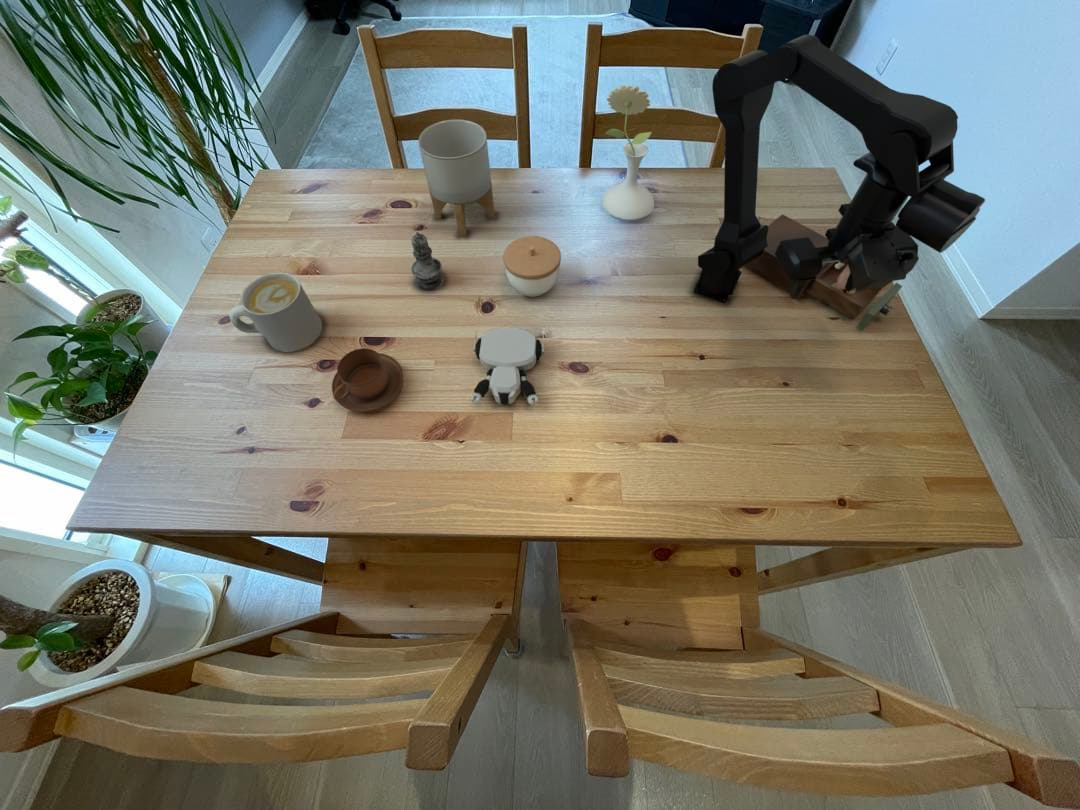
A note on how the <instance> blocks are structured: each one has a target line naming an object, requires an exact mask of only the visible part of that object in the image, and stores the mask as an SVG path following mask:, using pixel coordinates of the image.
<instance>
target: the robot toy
mask: <svg viewBox="0 0 1080 810" xmlns="http://www.w3.org/2000/svg"><path fill="white" fill-rule="evenodd" d="M477 333H478V329H477V328H475V329H474V342H473V346H472V347H473V348H472V350H473V352H474V353H475V356H476V358H477V360H478V361H480V362H481V363H480V364H481V365H482V367H484V368H485V369H487V370H488V371H487V372H486V378H484V379H481V380H480V381H479V382H478V383H477V385H476V386H475V388H474V389H473V392H474V393H472V394H471V396H470V398H469V399H470V401H471V402H474V403H475V404H479V403H480V401H482V398H485V396H486V395H487V393H488V391H489V389H490V391H491V394H492V395H493V397H494V399H495V402H496V403H497V404H500V405H502V406H507V405H511V404H513V403H515V401H516V399H517V397H519V395H520V394H521V391H522V392H523V395H524V397H525V398H526V400H527V403H528V404H529V405H531V406H533V405H535V404H538V402H539V397H538V396H537V392H536V390H535V387H534V386H533V383H532V382H530V381H529V380H527V378H526V377H527V374H526V372H525V371H528V370H530V369H533V368H534V367H535V365H536V363H537V362H539V361H540V359H541V357H542V354H545V353H544V352H545V348H544V346H545V345H544V344H545V329H542V343H541V340H540V339H538V337H537V336H536V334H535V333H533V332H532V331H531V330H529V329H524V328H521V327H513V326H506V327H497V328H492V329H489V330H487V331H485V332H483V334H482V335H481V337H479V338H477Z"/></svg>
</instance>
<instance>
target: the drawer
mask: <svg viewBox="0 0 1080 810" xmlns="http://www.w3.org/2000/svg"><path fill="white" fill-rule="evenodd" d="M839 262H840V261H838V262H831V263H828V264H827V265H826V266H825V267H824V268H823V269H822V270H821V271H820V272H819V273H818V274H817V275H815V276H816V278H817V279H814V280H811V281H810V283H809V284H808V286H807V288H806V289H805V291H806V293H808V294H810V296H812V297H814V298H815V299H818V300H819V301H821V302H823V303H824V304H826V305H828V306H830V307H831V308H833V309H835V310H836V311H838V312H840V313H842V314H843V315H845V316H846V317H848V318H850V319H852V320H854V319H855V318H856V317H857V316H858V315H859V314H860V313H861V312H862V311H863V310H864V309H865V308H866V307H867V306H868V305H869V304H870V303H871V302H872V301H873V300H874V298H876V297H877V295H878V294H880V292H881V290H882V289H883V288H874V289H867V290H863V291H859V290H857V289H856V290H855V293H854V294H848V293H847V292H846V289H843V291H844V292H841V291H840V290H838V289H836V288H834V287H833V286H831V285H832V284H834V283H837V278H838V277H839V275H840V274H841V273H842V271H843V270H844V269H845V268H846V267H847V265H848V264H846V265H844V266H842V267H841V268H840V269H836V268H835V265H836V264H837V263H839ZM902 288H903V285H901V284H899V283H897V282H896V283H894V285H892V287H890V289H889V290H888V291H886V293H885V294H884V295H883V296H881V298H880V299H879V300H878V301H877V302H876V303H874V304H873V306H872V307H871V308H870V309H869V310H868V311H867V312H866V313H865V315H864V317H862V319H861V320H860V321H859V323H858V324H857V325H856V327H857V328H858V329H860V330H865V328H867V326H869V325H870V323H871V322H872V321H873V320H874V319H876V317H877V316H878V315H879V314H880V313H881V314H882V315H884V316H887V315H888V314H889V313H890V312H891V310H893V307H892V306H890V305H889V303H891V301H892V300H894V298H895V296H896V295H897V294H898V293H899V292H900V290H901V289H902Z"/></svg>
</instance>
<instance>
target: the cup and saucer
mask: <svg viewBox="0 0 1080 810" xmlns="http://www.w3.org/2000/svg"><path fill="white" fill-rule="evenodd" d="M336 368H337V369H336V372H335V375H333V376H334V377H333V378H332V383H331V392H332V395H333V399H334V400H335V401H336V402H337V403H338V404H339V405H340V406H341V407H343V408H344V409H347V410H349V411H353V412H356V413H367V412H373V411H376V410H379V409H381V408H383V407H385V406H387V405H388V404H390V403H392V401H393V400H394V399H395V398H396V397H397V395H398V394H399V393H400V391H401V389H402V387H403V383H404V372H403V368H402V366H401V364H400V362H398V360H396V359H395V358H394V357H393V356H390V355H388V354H386V353H381V352H378V351H376V350H374V349H371V348H368V347H367V348H365V347H364V348H362V347H361V348H357V349H353V350H351V351H349V352H347V353H346V354H345V355H344V356H342V358H341V359H340V361H339V362H338V364H337V367H336Z"/></svg>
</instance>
